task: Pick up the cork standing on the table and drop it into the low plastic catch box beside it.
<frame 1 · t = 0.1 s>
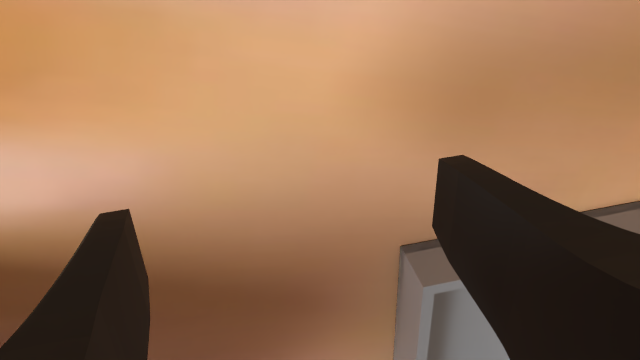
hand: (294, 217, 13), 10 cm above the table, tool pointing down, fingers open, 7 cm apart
catch box: (562, 313, 35), on the table
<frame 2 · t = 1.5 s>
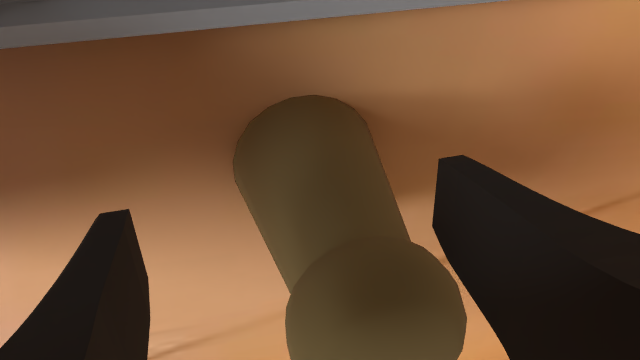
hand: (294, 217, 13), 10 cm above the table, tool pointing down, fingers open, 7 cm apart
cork: (303, 158, 24), on the table
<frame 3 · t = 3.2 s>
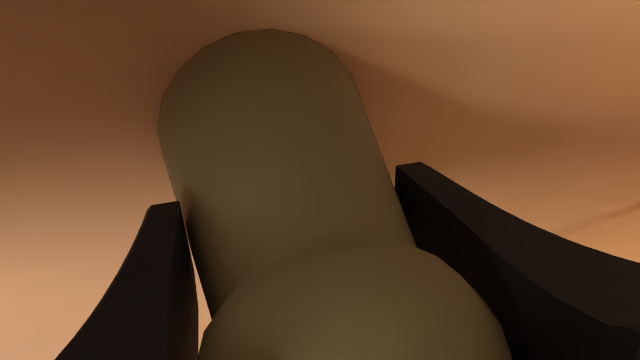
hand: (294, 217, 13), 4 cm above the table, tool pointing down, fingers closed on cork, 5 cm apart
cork: (262, 126, 17), on the table, touching gripper
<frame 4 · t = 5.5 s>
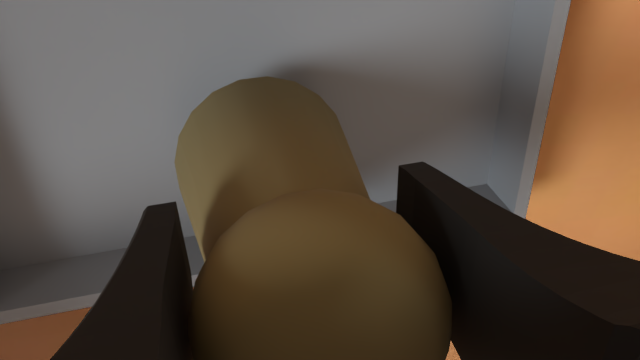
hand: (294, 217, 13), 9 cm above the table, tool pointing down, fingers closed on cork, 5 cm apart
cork: (263, 160, 20), point 3 cm above the table, touching gripper
catch box: (240, 52, 20), on the table
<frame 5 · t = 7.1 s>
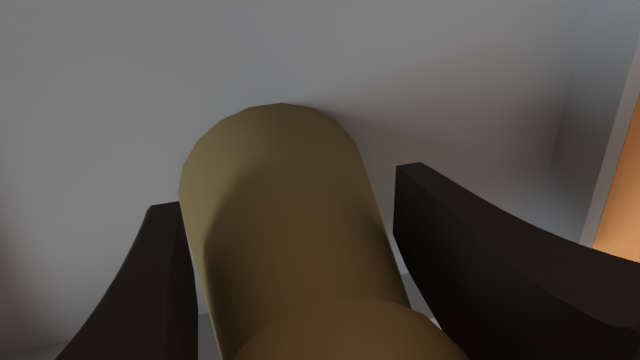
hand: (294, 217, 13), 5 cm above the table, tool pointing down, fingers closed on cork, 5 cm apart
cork: (274, 188, 18), point 1 cm above the table, touching catch box, gripper
catch box: (258, 114, 18), on the table
when the fingers open (5 cm above the table, at t = 8.2 s): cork stays where it is, resting on catch box.
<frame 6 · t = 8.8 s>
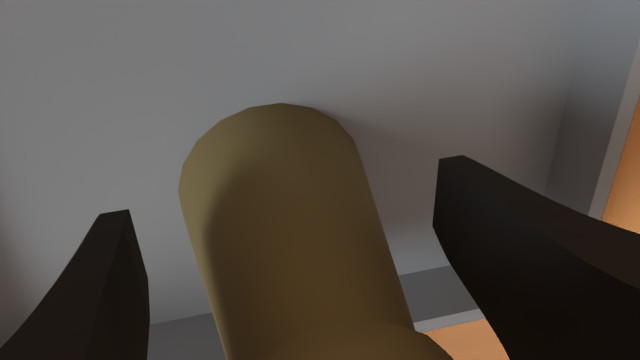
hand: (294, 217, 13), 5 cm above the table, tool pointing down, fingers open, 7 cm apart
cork: (272, 184, 19), resting on catch box
catch box: (259, 114, 18), on the table
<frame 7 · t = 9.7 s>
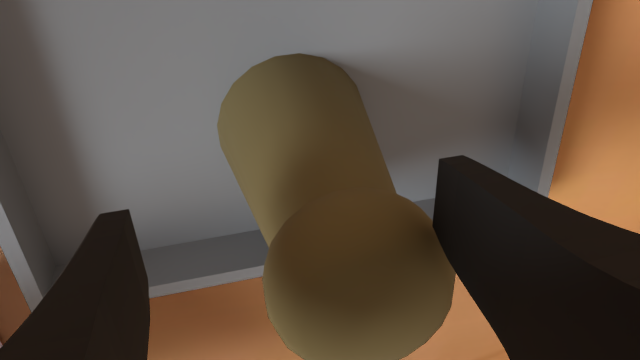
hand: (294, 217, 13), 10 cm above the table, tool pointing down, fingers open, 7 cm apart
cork: (291, 122, 23), resting on catch box, touching gripper
catch box: (281, 64, 22), on the table
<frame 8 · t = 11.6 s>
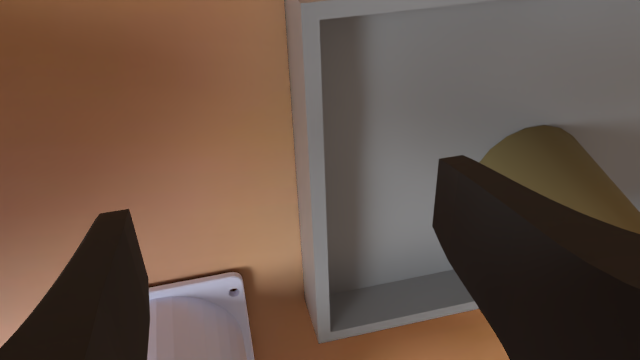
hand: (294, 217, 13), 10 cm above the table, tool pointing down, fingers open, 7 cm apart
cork: (522, 178, 28), resting on catch box
catch box: (522, 132, 27), on the table
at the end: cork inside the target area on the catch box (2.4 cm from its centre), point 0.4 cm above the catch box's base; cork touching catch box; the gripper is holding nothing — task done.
